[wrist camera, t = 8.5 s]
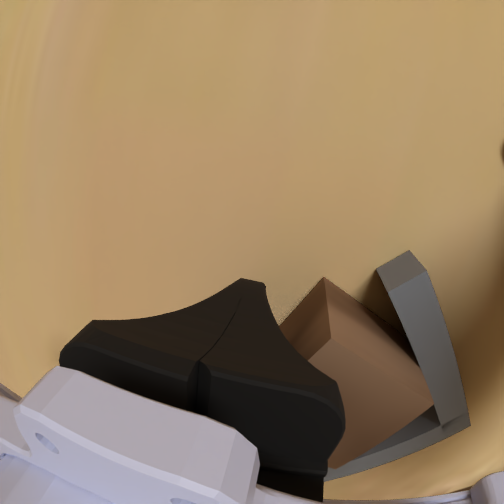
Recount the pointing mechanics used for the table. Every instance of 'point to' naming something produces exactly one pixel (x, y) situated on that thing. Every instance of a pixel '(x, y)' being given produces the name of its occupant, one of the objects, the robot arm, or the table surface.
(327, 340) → the walnut block
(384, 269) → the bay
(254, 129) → the table surface
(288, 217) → the table surface
